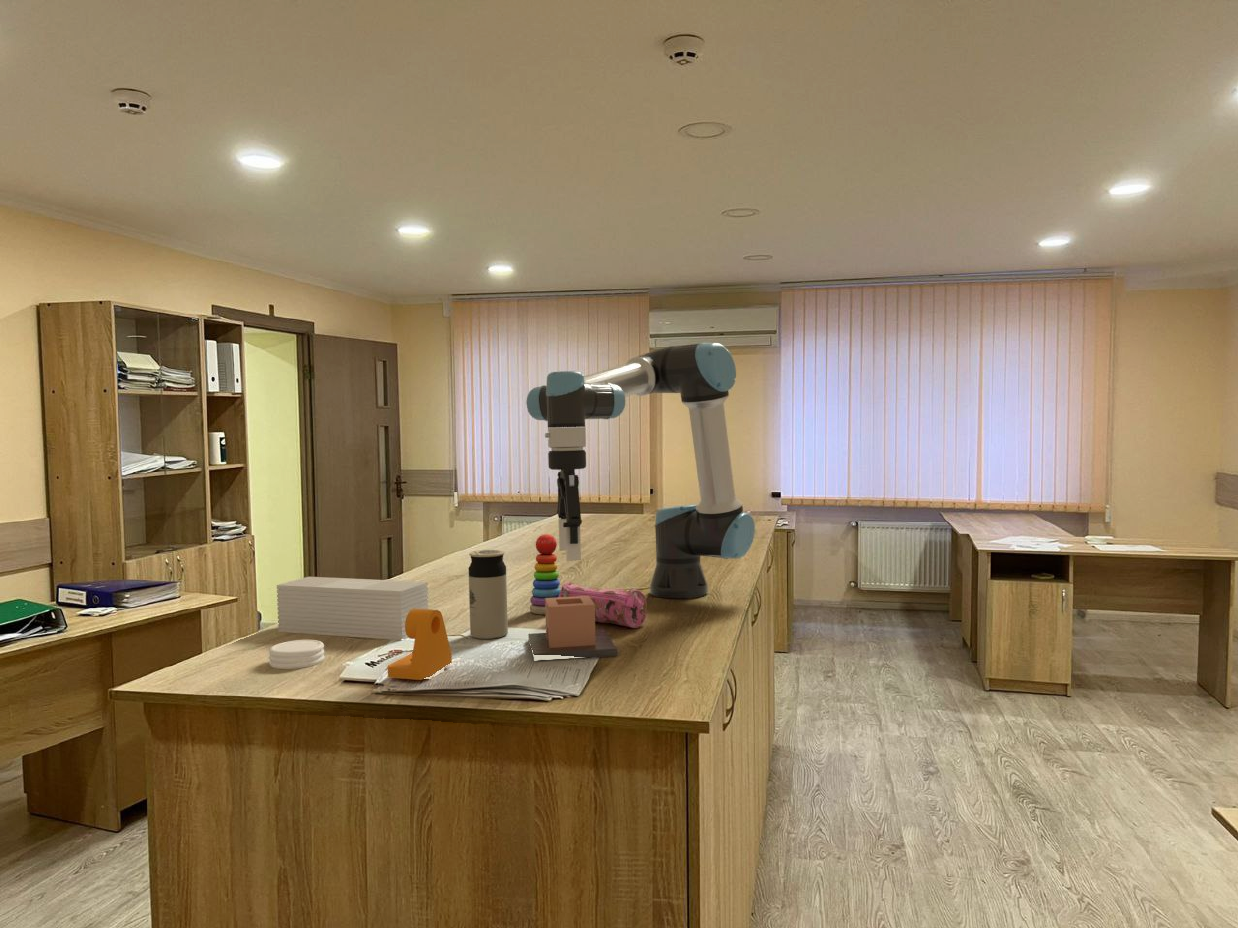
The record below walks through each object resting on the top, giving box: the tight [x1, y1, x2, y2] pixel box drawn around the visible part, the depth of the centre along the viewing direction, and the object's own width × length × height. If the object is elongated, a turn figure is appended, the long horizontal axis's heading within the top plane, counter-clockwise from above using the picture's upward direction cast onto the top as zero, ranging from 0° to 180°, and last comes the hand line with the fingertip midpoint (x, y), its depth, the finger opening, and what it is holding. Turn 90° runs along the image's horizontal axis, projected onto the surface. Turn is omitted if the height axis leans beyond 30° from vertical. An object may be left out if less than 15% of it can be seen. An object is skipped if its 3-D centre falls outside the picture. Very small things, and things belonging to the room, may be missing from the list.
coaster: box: [268, 639, 326, 670], centre depth 164 cm, size 10×10×4 cm
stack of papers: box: [276, 576, 429, 641], centre depth 189 cm, size 32×11×11 cm, turn 72°
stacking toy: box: [529, 533, 561, 615], centre depth 204 cm, size 8×8×19 cm
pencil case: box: [559, 581, 648, 629], centre depth 191 cm, size 21×9×9 cm, turn 54°
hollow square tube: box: [544, 596, 596, 648], centre depth 170 cm, size 9×9×8 cm
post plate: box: [528, 628, 618, 658], centre depth 170 cm, size 16×16×6 cm
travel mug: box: [468, 549, 509, 640], centre depth 182 cm, size 8×8×18 cm
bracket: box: [387, 608, 453, 681], centre depth 154 cm, size 11×7×12 cm, turn 162°
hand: (569, 555), depth 170 cm, fingers open, 13 cm apart
